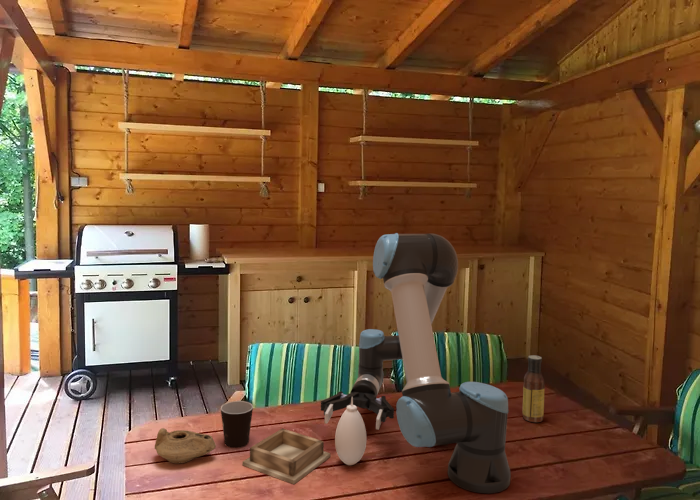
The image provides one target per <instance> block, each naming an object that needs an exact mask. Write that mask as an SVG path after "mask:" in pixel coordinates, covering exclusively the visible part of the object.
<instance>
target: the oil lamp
mask: <svg viewBox="0 0 700 500" xmlns="http://www.w3.org/2000/svg"><path fill="white" fill-rule="evenodd" d="M216 447H217V445H216V442H215V440H214V438H213V436H212V435H210V434H207V433H206V434H205V433H199V432H195V431H191V430H185V429H181V430H179V429H177V430H173V431H170V432H169V431H168V430H167V429H166V428H164V427H162V428H160V429H159V430H158V432H157V435H156V439H155V444H154V449H155V451H156V453H157V455H158V456H160V457H162V458H163V459H165V460H167V462H170V463H173V464H184V463H188V462H191V461H192V460H193V459H195V458H200V457H202V456H204V455H207V454H209V453H211V452H212V451H214V449H216Z"/></svg>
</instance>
